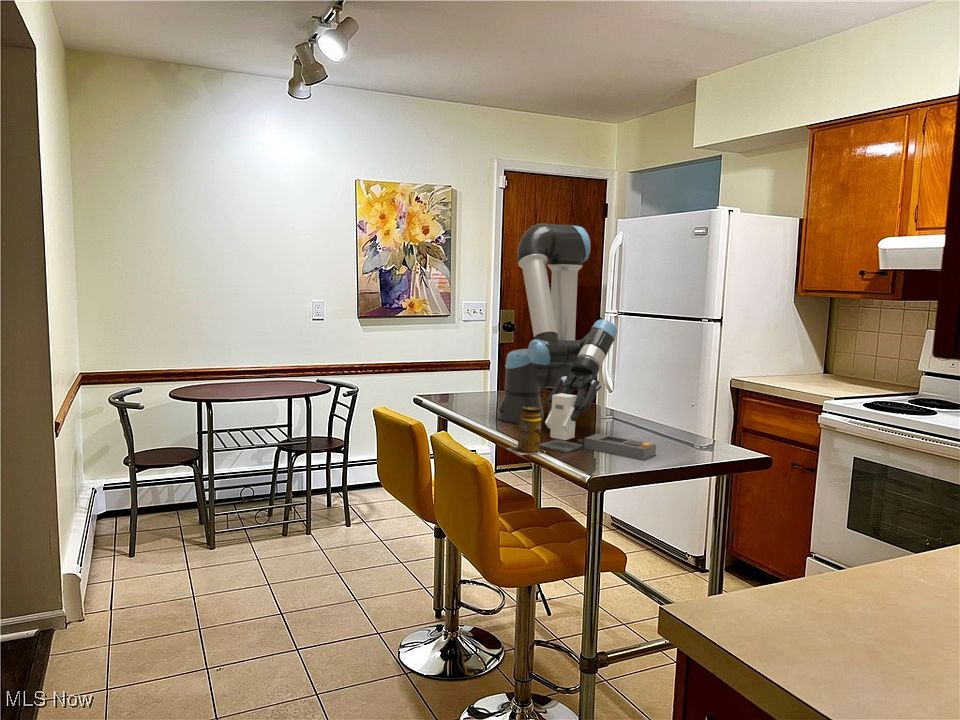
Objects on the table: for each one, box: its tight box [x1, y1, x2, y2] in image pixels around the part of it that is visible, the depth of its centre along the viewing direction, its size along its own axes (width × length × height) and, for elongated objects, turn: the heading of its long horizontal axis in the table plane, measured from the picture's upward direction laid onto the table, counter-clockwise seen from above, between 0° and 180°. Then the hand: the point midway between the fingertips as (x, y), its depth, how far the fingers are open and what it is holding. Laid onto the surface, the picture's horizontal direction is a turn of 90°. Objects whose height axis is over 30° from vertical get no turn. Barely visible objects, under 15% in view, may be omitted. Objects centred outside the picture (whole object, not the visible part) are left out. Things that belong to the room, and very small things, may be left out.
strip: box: [576, 433, 657, 461], centre depth 201 cm, size 22×8×4 cm, turn 53°
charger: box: [549, 393, 577, 441], centre depth 201 cm, size 5×5×12 cm
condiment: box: [505, 407, 546, 456], centre depth 195 cm, size 7×8×12 cm
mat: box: [540, 438, 584, 453], centre depth 202 cm, size 9×9×1 cm
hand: (556, 426), depth 198 cm, fingers closed on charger, 5 cm apart
